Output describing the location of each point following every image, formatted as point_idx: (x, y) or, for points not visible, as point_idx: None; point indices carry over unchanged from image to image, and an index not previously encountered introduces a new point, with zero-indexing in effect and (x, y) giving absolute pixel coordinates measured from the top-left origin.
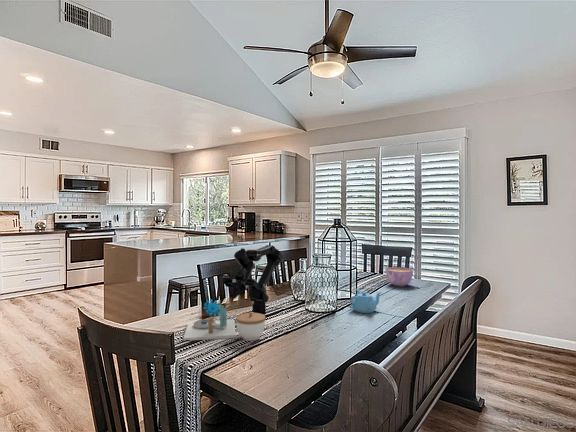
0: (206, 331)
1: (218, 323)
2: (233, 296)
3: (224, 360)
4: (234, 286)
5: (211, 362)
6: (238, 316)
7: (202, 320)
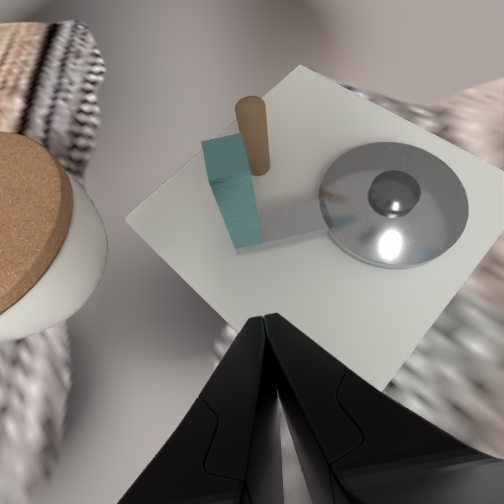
0: (289, 161)
1: (358, 287)
2: (262, 321)
3: (41, 80)
4: (399, 478)
5: (70, 54)
6: (37, 167)
7: (413, 184)
